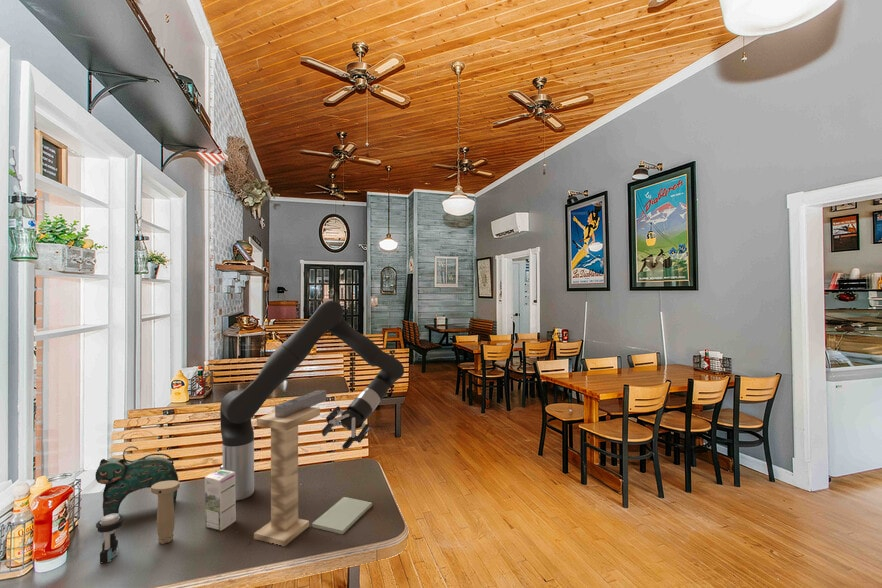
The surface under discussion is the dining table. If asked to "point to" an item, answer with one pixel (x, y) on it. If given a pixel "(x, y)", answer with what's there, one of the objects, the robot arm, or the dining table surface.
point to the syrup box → (220, 499)
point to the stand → (284, 477)
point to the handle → (165, 509)
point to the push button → (109, 535)
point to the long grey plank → (300, 403)
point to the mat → (342, 515)
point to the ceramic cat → (132, 477)
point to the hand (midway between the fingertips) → (333, 441)
